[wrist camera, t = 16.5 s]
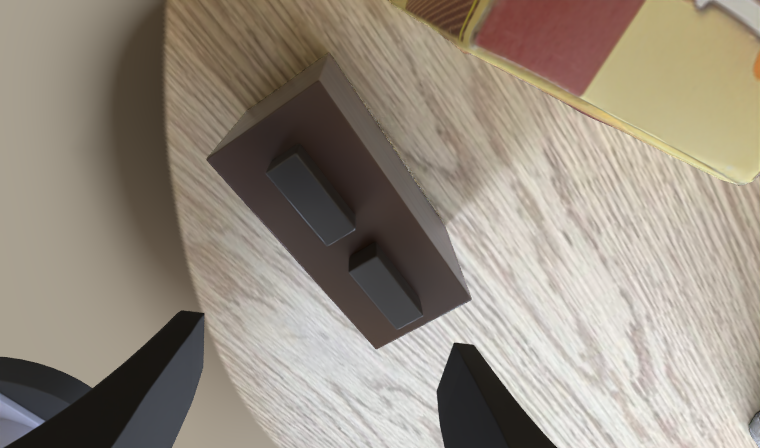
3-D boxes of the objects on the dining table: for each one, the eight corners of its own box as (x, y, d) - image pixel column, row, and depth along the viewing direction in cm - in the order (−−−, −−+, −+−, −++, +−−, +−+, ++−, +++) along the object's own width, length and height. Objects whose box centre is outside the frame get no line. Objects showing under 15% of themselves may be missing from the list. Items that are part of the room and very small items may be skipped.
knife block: (371, 268, 24) (377, 368, 18) (245, 111, 20) (194, 170, 13) (445, 226, 23) (478, 316, 17) (329, 51, 19) (316, 86, 12)
